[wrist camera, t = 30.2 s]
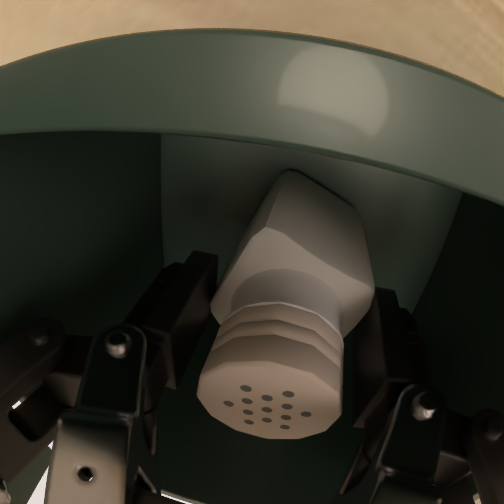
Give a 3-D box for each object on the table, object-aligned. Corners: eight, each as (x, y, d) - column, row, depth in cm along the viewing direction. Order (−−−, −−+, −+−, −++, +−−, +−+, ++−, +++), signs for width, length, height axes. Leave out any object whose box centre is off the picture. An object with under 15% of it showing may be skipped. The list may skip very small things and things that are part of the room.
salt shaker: (287, 161, 13) (220, 311, 5) (364, 210, 13) (402, 400, 5) (244, 231, 15) (158, 402, 7) (314, 272, 15) (292, 458, 7)
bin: (486, 128, 10) (686, 265, 1) (406, 333, 17) (425, 523, 7) (157, 67, 12) (-93, 113, 2) (160, 283, 19) (54, 441, 9)
